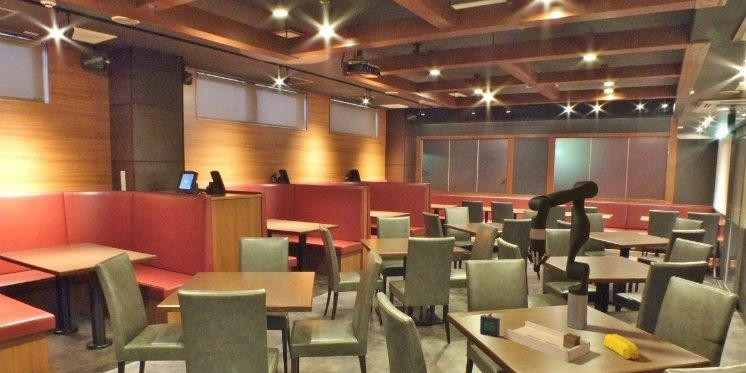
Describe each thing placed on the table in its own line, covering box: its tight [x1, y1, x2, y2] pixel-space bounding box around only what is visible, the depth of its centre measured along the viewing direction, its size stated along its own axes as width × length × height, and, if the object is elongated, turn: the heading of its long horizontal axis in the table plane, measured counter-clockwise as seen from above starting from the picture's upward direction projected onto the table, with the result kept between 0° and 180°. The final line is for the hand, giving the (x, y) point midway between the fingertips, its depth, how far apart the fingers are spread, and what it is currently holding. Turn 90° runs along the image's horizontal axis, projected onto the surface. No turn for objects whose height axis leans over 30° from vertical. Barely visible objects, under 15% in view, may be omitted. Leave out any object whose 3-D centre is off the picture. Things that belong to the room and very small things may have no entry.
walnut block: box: [563, 332, 582, 349], centre depth 195 cm, size 5×5×5 cm
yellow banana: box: [603, 333, 639, 360], centre depth 195 cm, size 18×7×8 cm
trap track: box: [503, 320, 591, 363], centre depth 202 cm, size 18×32×4 cm, turn 37°
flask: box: [479, 312, 501, 338], centre depth 213 cm, size 9×3×11 cm, turn 68°
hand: (536, 272), depth 220 cm, fingers closed
